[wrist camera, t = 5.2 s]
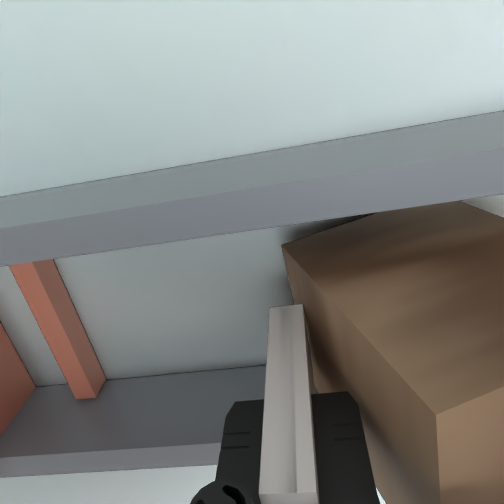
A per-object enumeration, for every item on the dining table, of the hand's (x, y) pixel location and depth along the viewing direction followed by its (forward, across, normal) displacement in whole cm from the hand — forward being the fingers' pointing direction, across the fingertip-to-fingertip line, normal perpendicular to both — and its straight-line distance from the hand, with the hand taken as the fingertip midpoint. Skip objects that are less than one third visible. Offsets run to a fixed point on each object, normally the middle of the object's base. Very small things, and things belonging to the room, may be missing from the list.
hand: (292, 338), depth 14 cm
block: (+2, +3, 0) cm, 4 cm away
